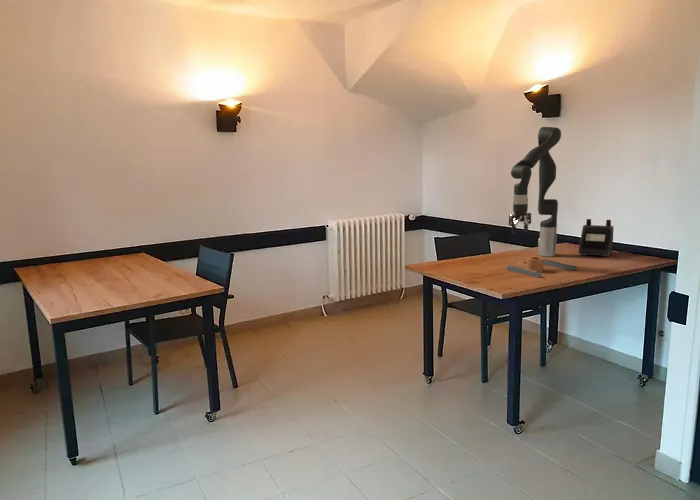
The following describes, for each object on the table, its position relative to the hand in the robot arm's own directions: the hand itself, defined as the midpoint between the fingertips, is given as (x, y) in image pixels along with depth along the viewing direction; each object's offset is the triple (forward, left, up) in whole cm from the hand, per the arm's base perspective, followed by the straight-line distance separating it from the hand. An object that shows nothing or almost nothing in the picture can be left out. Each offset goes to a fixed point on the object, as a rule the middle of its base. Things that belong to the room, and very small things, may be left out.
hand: (519, 232), depth 300 cm
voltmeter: (+5, +56, -18) cm, 59 cm away
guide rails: (+16, 0, -18) cm, 24 cm away
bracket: (+10, -2, -19) cm, 21 cm away
